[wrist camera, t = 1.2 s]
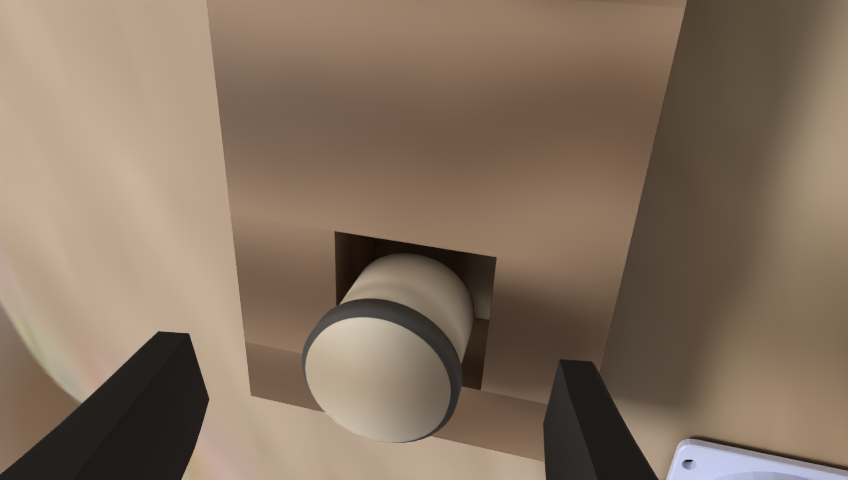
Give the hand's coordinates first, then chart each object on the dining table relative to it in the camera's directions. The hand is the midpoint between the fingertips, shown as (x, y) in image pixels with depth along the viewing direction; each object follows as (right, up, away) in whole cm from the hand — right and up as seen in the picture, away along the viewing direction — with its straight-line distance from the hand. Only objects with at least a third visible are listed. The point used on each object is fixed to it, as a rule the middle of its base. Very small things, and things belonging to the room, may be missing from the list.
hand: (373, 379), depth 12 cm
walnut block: (+2, +8, +8) cm, 11 cm away
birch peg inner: (+1, +1, +7) cm, 7 cm away
